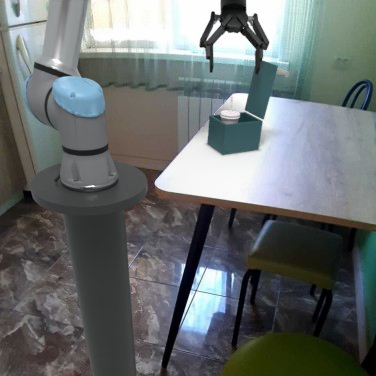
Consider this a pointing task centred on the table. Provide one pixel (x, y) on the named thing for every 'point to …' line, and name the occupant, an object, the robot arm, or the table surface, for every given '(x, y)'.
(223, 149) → the teal open box
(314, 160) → the table surface
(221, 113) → the smoothie
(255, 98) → the lid
